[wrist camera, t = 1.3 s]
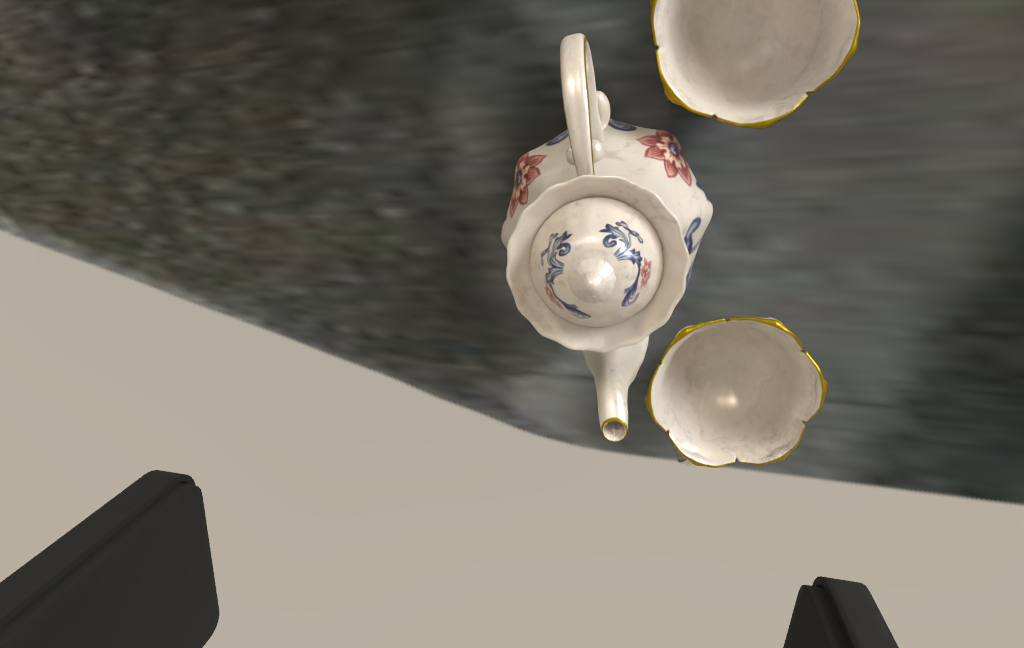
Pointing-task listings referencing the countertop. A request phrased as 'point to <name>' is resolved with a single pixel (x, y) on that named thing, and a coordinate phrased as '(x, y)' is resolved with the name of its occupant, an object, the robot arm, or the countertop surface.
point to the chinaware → (671, 228)
